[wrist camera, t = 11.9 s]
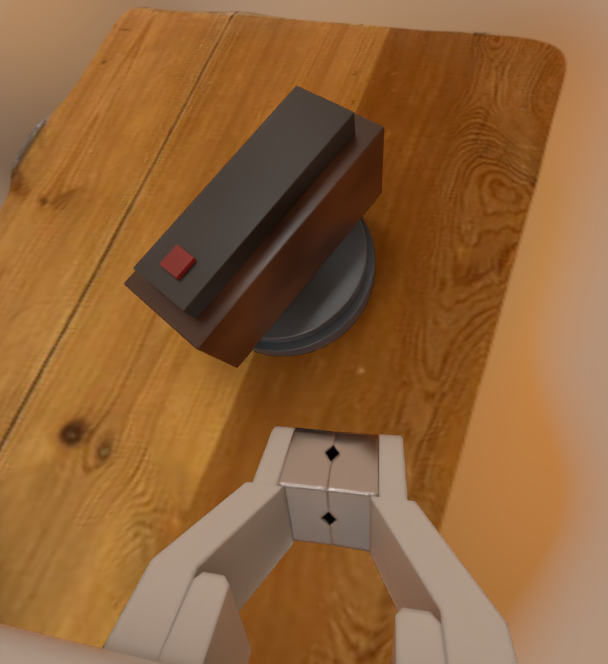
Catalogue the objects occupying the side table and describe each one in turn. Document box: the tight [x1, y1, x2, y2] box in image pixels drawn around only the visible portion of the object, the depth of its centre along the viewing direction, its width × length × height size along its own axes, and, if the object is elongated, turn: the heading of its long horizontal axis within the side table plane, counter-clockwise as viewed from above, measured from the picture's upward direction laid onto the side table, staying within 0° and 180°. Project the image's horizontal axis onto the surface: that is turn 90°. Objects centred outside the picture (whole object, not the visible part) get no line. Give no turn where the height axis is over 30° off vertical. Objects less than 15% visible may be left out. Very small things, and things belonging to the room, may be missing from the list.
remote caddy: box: [124, 86, 384, 368], centre depth 19 cm, size 14×11×7 cm
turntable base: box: [253, 217, 375, 356], centre depth 23 cm, size 12×12×2 cm
